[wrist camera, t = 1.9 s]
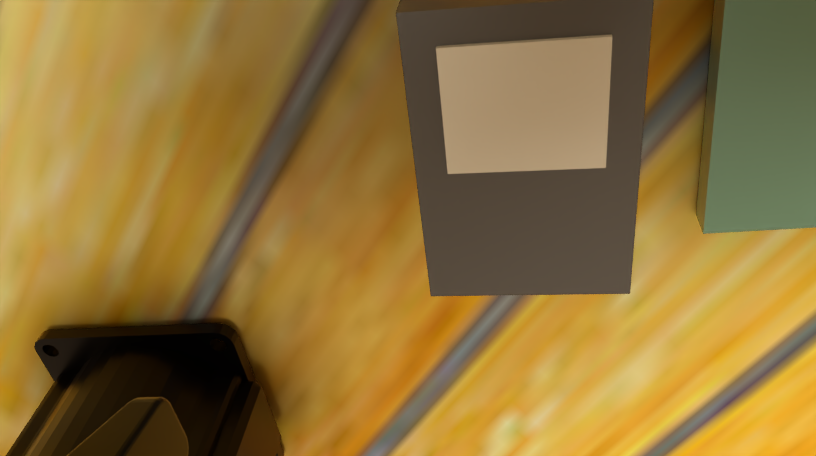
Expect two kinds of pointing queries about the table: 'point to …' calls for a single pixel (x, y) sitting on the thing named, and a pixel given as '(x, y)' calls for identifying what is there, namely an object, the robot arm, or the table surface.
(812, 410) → the table surface
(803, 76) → the board
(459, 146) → the plug
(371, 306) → the table surface
